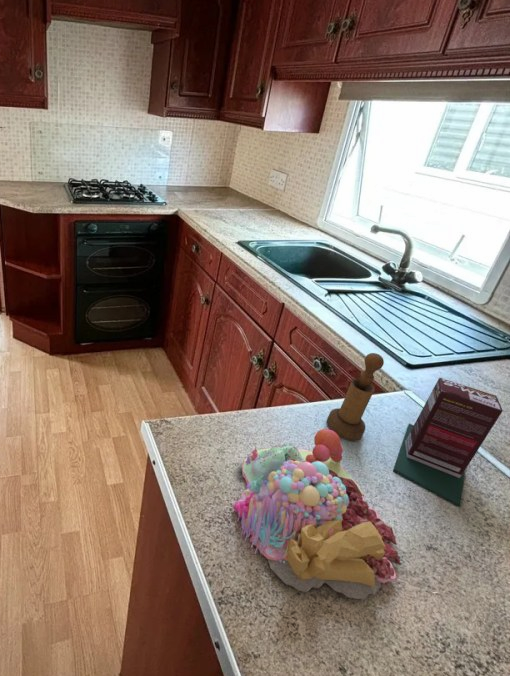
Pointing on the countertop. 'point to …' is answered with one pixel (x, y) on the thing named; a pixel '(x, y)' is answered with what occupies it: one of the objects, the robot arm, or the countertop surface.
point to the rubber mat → (429, 476)
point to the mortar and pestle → (355, 402)
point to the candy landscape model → (315, 520)
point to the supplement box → (452, 426)
